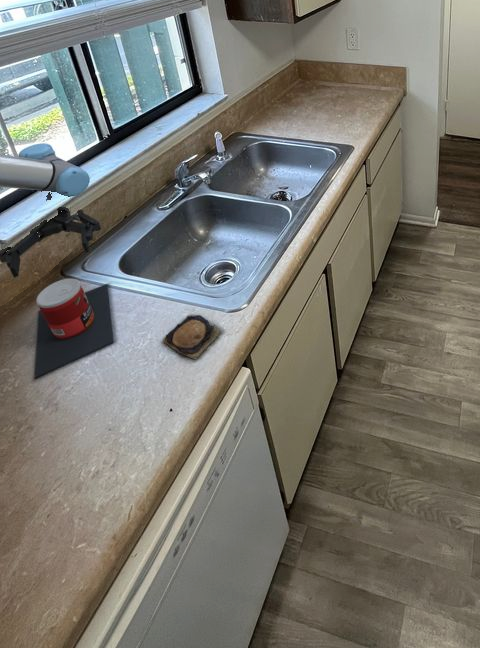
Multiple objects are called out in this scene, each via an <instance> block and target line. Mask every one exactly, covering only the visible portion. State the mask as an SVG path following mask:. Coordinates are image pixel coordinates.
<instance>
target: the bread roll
mask: <svg viewBox="0 0 480 648" xmlns="http://www.w3.org/2000/svg"><path fill="white" fill-rule="evenodd" d="M221 334H222V330H221V329H220V328H219V327H217V326H216V325H215V324H214V325H213V324H212V323H210V322H209V320H208V319H206V318H205V317H203V315H201V314H196V315H186V317H185V319H184V320H183V321H181V323H178V324H176V326H175V327H174V328H173V329H171V331H169V332H168V333H167V334H165V337H164V339H163V343H164V344H165V345H167V346H169V347H170V348H171V349H172V350H175V351H176V352H178V353H179V354H181V355H183V356H185V357H187V358H190V359H193V360H197V359H198V358H199V357H200V355H202V354H203V353H204V351H205V350H206V349H208V347H209V346H210V345H211V344H212V343H213V342H214V341H215V340H216V339H217V338H218V337H219V336H220V335H221Z"/></svg>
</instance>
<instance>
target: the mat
mask: <svg viewBox="0 0 480 648" xmlns="http://www.w3.org/2000/svg"><path fill="white" fill-rule="evenodd" d="M108 287H109V286H108V283H105V284H103V285H101V286H98V287H96V288H93V289H91V290H87V291H85V292H84V293H85V295H86V297H87V299H88V302H89V304H90V306H91V308H92V310H93V313H94V320H93V322H92V324H91V325H90V326H89V327H88V328H87V329H86V330H85V331H84V332H82V333H81V334H79V335H77V336H74V337H72V338H68V339H60V338H57V337H56V336H55V335H54V334H53V332H52V331H51V329H50V327H49V325H48V323H47V322H46V320H45V318H44V316H43V314H42V312H41V311H40V310H39V311H38V312H39V313H38V327H37V341H36V357H35V358H36V359H35V369H34V370H35V371H34V372H35V373H34V378H35V379H39V378H40V377H42V376H45V375H48V374H49V373H51V372H54V371H55V370H59V369H60V368H62V367H65V366H67V365H69V364H72V363H73V362H75V361H78V360H79V359H82V358H84V357H86V356H88V355H91V354H92V353H95V352H97V351H99V350H101V349H103V348H105V347H107V346H109V345H110V346H111V345H112V344H114V341H115V340H114V332H113V324H112V315H111V313H112V312H111V304H110V296H109V288H108Z"/></svg>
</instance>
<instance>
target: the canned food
mask: <svg viewBox="0 0 480 648" xmlns="http://www.w3.org/2000/svg"><path fill="white" fill-rule="evenodd" d="M85 293H86V292H85V291H84V288H83V287H82V284H81V282H80V281H79V280H78V279H76V278H64V279H60V280H58V281H55V282H53V283H51V284H50V285H48V286H46V287H45V288H43V289H42V290H41V291H40V292H39V294H38V295H37V296H36V305H37V306H38V309H39V311H41V312H42V314H43V316H44V318H45V320H46V322H47V323H48V325H49V327H50V329H51V331H52V332H53V334H54V335H55V336H56V337H57V338H60V339H68V338H72V337H74V336H77V335H79V334H81V333H82V332H84V331H85V330H86V329H87V328H88V327H89V326H90V325H91V324H92V322H93V320H94V313H93V310H92V308H91V306H90V304H89V302H88V299H87V297H86V295H85Z"/></svg>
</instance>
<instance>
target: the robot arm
mask: <svg viewBox="0 0 480 648" xmlns="http://www.w3.org/2000/svg"><path fill="white" fill-rule="evenodd" d="M90 181H91V177H90V174H89V173H88V172H87V171H86V170H84V169H83V168H82V167H80V166H77V165H75V164H72V163H70V162H69V161H66V160H65V159H62V158H60V157H58V156H57V155H56V151H55V150H54V149H53V146H52V145H51V144H49V143H45V142H43V143H41V142H40V143H36V144H31V145H28V146H26V147H24V148H23V149H21V150H20V151H19V153H18V156H15V155H9V154H8V155H7V154H1V153H0V188H5V189H18V190H31V191H33V190H37V191H41V192H42V191H51V192H57V193H59V194H61V195H64V196H68V197H70V198H71V197H76V196H79V195H81V194H82V193H84V192H85V191H86V190H87V188H88V187H89V185H90ZM51 194H52V193H51ZM51 194H50V192H49V193H48V195H47V196H46V197H47V199H46V201H47V200H51V198H52V196H51ZM57 210H58V215H57V216H55V217H54V218H52V219H50V220H49V221H48V222H47V220H44V221H43V222H41V223H40V225H39V226H37V227H35V228H34V229H32V230H31V231H30V234H29V235H27V236H26V237H25V238H24V239H22V240H21V241H20V242H19V243H17V244H16V245H15V246H14V247H12V248H11V247H7V248H5V249H2V248H1V249H2V250H1V249H0V263H1V264H3V263H5V264H6V266H7V268H8V269H9V270H10V272H11V275H12V276H13V278H17V277H19V274H20V266H21V256H22V255H23V254H24V253H26V252H27V251H28V250H29V249H31V248H33V246H34V245H35V244H37V243H39V242H42V241H43V240H44V239H45V238H47V237H51V236H53V235H55V234H59V233H62V232H65V233H70V232H72V233H77V234H81V237H80V238H81V246H82V248H83V250H84V253H88V252H90V245H89V241H93V240H94V232H99V231H101V230H102V227H101V224H100V222H99V220H98V219H95V218H93V217H91V216H90V215H88V214H87V213H84V211H83V209H78V210H77V211H76V213H74V214H72V215H71V210H70V211H69V209H68V208H66V207H59V208H58V209H57ZM61 211H62V212H61ZM37 232H38V233H37ZM39 236H40V237H39ZM7 250H9V251H7ZM6 251H7V252H6Z"/></svg>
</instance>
